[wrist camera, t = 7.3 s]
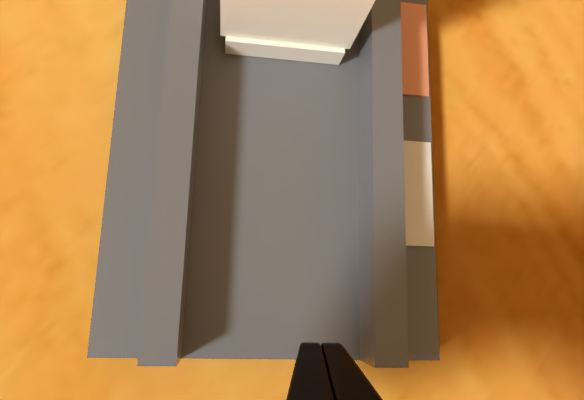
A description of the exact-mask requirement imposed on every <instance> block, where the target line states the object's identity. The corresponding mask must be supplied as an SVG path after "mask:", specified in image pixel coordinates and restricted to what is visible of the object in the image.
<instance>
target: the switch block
mask: <svg viewBox="0 0 584 400" xmlns="http://www.w3.org/2000/svg"><path fill="white" fill-rule="evenodd" d="M225 39H226V36H220V0H127V2H126V11H125V20H124V29H123V38H122V47H121V56H120V65H119V74H118V83H117V92H116V102H115V111H114V120H113V129H112V138H111V147H110V156H109V165H108V174H107V183H106V192H105V201H104V210H103V219H102V228H101V237H100V246H99V255H98V264H97V273H96V283H95V292H94V301H93V310H92V319H91V328H90V337H89V346H88V355H87V358H138V364H137V366H177V364H178V362H179V361H180V359H181V358H205V359H297V355H298V351H299V347H300V344H301V343H302V342H317V343H319V344H320V345H321V344H322V343H324V342H326V343H340V344H342V345H343V346H344V348H345V349H346V350H347V352H348V353H349V354H350V356H351V357H352V359H353V360H361V361H363V362H365V363H367V364H369V365H371V366H373V367H391V368H409V367H408V360H439V331H438V302H437V273H436V244H435V215H434V186H433V157H432V128H431V99H430V70H429V41H428V12H427V0H375V2H374V4H373V6H372V8H371V10H370V12H369V14H368V16H367V17H366V19H365V21H364V23H363V25H362V27H361V29H360V31H359V33H358V35H357V36H356V38H355V40H354V42H353V44H352V46H351V48H350V49H345V54H344V56H343V58H342V60H341V62H340V64H339V65H335V64H324V63H314V62H304V61H294V60H284V59H274V58H264V57H254V56H243V55H233V54H225Z"/></svg>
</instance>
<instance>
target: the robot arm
mask: <svg viewBox="0 0 584 400" xmlns="http://www.w3.org/2000/svg"><path fill="white" fill-rule="evenodd" d="M286 400H382V398H381V397H380V396H379V394H378V393H377V391H376V390H375V389H374V387H373V386H372V385H371V383H370V382H369V381H368V379H367V378H366V376H365V375H364V374H363V372H362V371H361V370H360V368H359V367H358V365H357V364H356V363H355V361H354V360H353V359H352V357H351V356H350V354H349V353H348V352H347V350H346V349H345V348H344V346H343V345H342V344H340V343H326V342H324V343H322V344H321V345H320V344H319V343H317V342H302V343H301V344H300V347H299V351H298V355H297V359H296V363H295V367H294V371H293V375H292V379H291V383H290V387H289V391H288V395H287V399H286Z"/></svg>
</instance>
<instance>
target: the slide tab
mask: <svg viewBox="0 0 584 400" xmlns="http://www.w3.org/2000/svg"><path fill="white" fill-rule="evenodd" d="M374 2H375V0H220V36H226V39H225V54H233V55H243V56H254V57H264V58H274V59H284V60H294V61H304V62H314V63H324V64H335V65H339V64H340V62H341V60H342V58H343V56H344V54H345V49H350V48H351V46H352V44H353V42H354V40H355V38H356V36H357V35H358V33H359V31H360V29H361V27H362V25H363V23H364V21H365V19H366V17H367V16H368V14H369V12H370V10H371V8H372V6H373V4H374Z"/></svg>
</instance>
